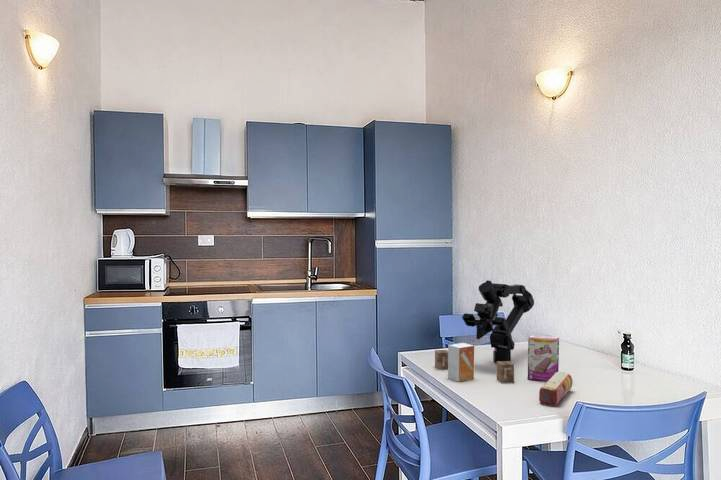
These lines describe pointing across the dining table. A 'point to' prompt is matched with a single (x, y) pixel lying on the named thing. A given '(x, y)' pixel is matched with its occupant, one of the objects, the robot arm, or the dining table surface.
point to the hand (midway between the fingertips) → (477, 338)
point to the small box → (461, 362)
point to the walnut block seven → (505, 372)
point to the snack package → (555, 389)
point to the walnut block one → (441, 359)
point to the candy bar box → (542, 357)
